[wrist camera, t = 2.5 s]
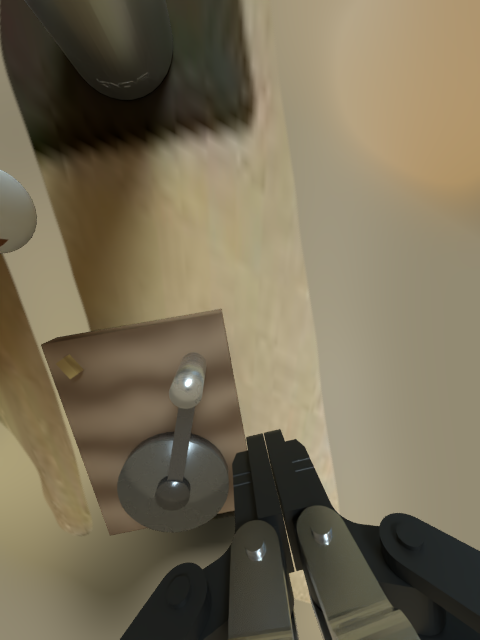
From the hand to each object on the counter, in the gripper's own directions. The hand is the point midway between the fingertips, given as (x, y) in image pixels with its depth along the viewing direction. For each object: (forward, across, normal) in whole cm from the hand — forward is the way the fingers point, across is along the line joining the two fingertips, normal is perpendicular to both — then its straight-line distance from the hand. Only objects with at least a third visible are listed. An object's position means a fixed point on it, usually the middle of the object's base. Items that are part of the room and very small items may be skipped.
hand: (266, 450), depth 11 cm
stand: (+18, +11, +8) cm, 23 cm away
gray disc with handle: (+16, +8, +10) cm, 20 cm away
